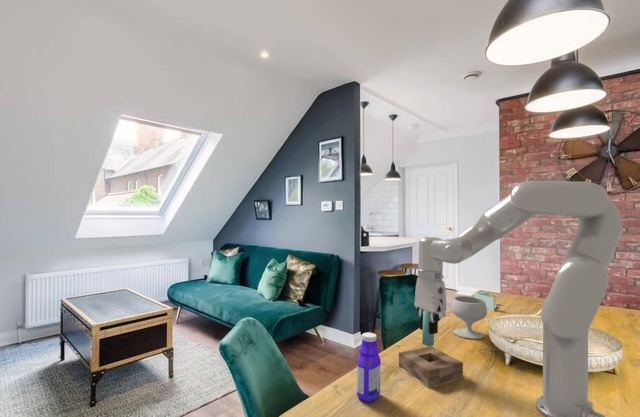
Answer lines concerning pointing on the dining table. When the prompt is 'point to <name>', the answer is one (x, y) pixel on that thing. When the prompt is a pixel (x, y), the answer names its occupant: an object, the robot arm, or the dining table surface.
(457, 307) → the chalice
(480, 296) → the l-shaped corner panel
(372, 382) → the bottle
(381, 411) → the dining table surface
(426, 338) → the peg
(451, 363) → the socket block
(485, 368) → the dining table surface
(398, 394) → the dining table surface
